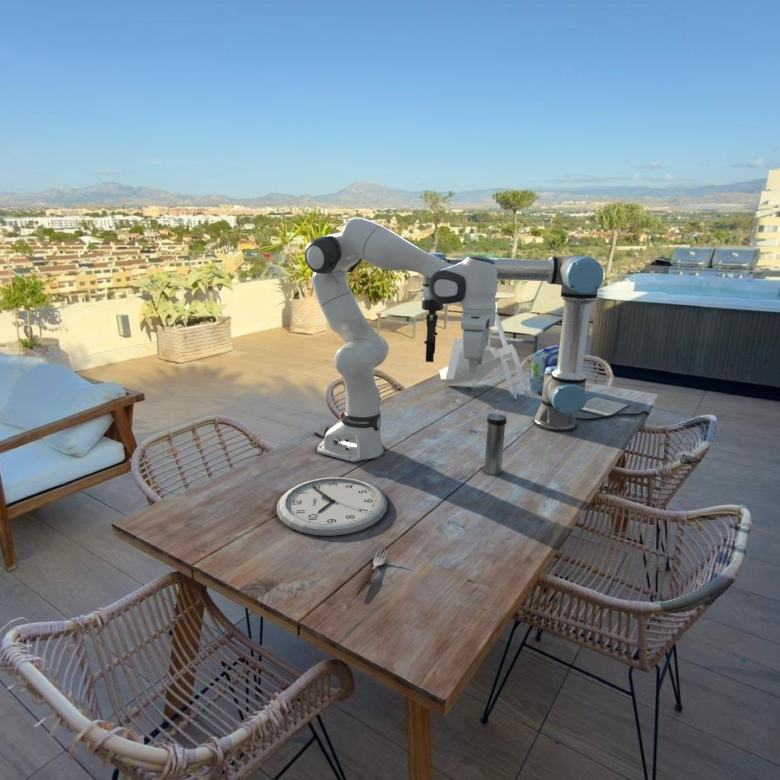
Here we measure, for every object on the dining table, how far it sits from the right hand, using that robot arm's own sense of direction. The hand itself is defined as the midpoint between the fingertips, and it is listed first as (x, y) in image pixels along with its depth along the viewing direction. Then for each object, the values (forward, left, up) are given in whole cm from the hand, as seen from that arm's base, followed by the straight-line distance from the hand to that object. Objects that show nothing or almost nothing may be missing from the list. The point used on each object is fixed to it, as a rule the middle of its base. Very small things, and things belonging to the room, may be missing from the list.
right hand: (430, 357), depth 190 cm
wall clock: (+23, +61, -28) cm, 71 cm away
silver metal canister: (-22, +32, -28) cm, 48 cm away
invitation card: (-73, -38, -28) cm, 87 cm away
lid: (-22, +32, -10) cm, 41 cm away
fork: (+8, +89, -28) cm, 93 cm away
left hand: (-14, +44, +8) cm, 46 cm away
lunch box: (-55, -59, -28) cm, 86 cm away
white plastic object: (-22, -50, -28) cm, 61 cm away
